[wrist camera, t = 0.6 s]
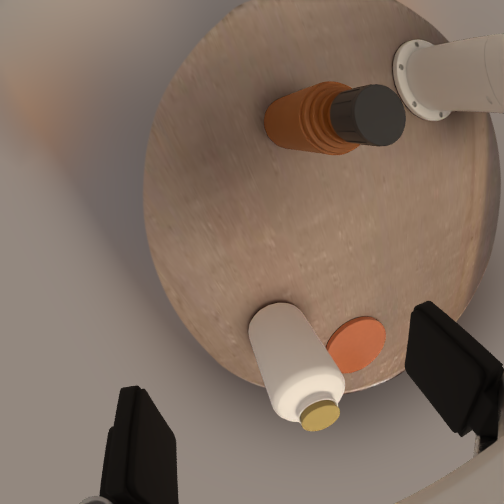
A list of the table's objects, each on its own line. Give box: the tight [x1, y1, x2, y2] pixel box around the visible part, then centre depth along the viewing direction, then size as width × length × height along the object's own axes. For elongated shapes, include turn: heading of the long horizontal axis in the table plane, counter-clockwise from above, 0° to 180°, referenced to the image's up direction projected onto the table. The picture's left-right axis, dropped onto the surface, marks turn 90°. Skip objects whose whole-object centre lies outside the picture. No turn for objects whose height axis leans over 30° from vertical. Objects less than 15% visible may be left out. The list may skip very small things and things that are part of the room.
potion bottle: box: [248, 303, 345, 431], centre depth 36 cm, size 8×8×18 cm
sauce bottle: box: [264, 82, 360, 155], centre depth 26 cm, size 6×6×18 cm
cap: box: [330, 84, 406, 146], centre depth 19 cm, size 4×4×4 cm
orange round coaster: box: [326, 317, 386, 373], centre depth 48 cm, size 11×11×1 cm
